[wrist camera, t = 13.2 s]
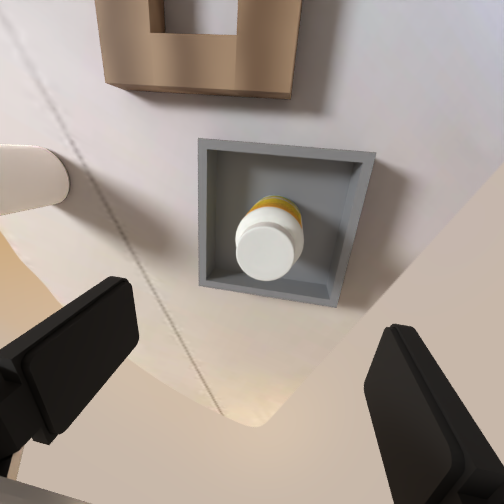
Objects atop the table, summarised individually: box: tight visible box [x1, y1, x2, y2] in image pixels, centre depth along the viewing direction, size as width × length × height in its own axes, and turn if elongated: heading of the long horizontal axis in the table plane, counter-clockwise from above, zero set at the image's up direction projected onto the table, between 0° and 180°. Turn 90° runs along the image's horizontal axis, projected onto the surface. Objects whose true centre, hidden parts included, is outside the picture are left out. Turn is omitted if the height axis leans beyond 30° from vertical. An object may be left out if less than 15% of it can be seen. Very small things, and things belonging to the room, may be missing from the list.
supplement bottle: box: [235, 195, 304, 281], centre depth 21 cm, size 5×5×10 cm
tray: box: [198, 138, 376, 308], centre depth 24 cm, size 14×14×4 cm
